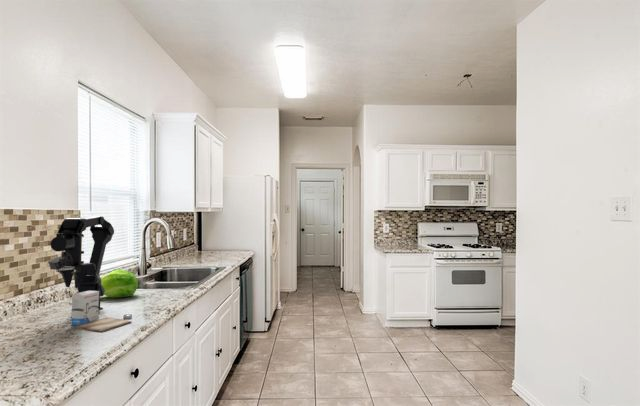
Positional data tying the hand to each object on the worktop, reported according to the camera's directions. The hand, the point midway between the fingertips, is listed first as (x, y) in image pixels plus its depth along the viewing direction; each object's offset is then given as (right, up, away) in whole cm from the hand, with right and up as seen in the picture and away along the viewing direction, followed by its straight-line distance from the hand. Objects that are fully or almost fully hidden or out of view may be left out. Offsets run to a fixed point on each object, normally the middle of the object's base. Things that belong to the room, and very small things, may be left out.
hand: (72, 287), depth 151 cm
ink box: (+7, -13, -3) cm, 15 cm away
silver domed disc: (+21, -14, +3) cm, 25 cm away
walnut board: (+17, -13, -7) cm, 22 cm away
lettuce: (-6, -14, +40) cm, 43 cm away
